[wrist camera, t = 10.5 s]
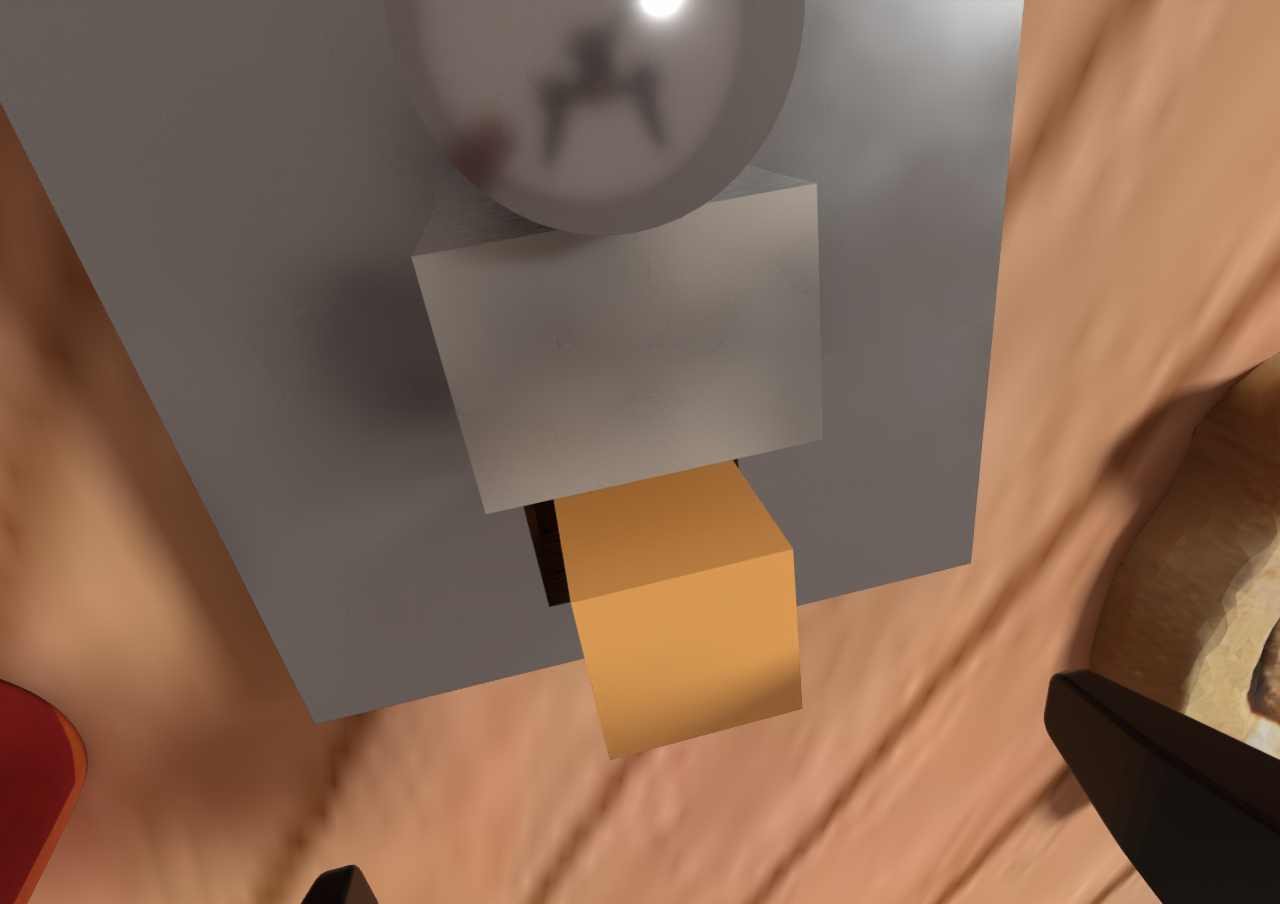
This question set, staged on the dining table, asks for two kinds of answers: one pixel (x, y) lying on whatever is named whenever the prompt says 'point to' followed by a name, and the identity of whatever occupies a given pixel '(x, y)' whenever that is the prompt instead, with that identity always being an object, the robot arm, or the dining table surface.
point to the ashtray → (1209, 577)
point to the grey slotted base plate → (531, 285)
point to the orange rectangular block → (681, 606)
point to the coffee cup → (34, 786)
